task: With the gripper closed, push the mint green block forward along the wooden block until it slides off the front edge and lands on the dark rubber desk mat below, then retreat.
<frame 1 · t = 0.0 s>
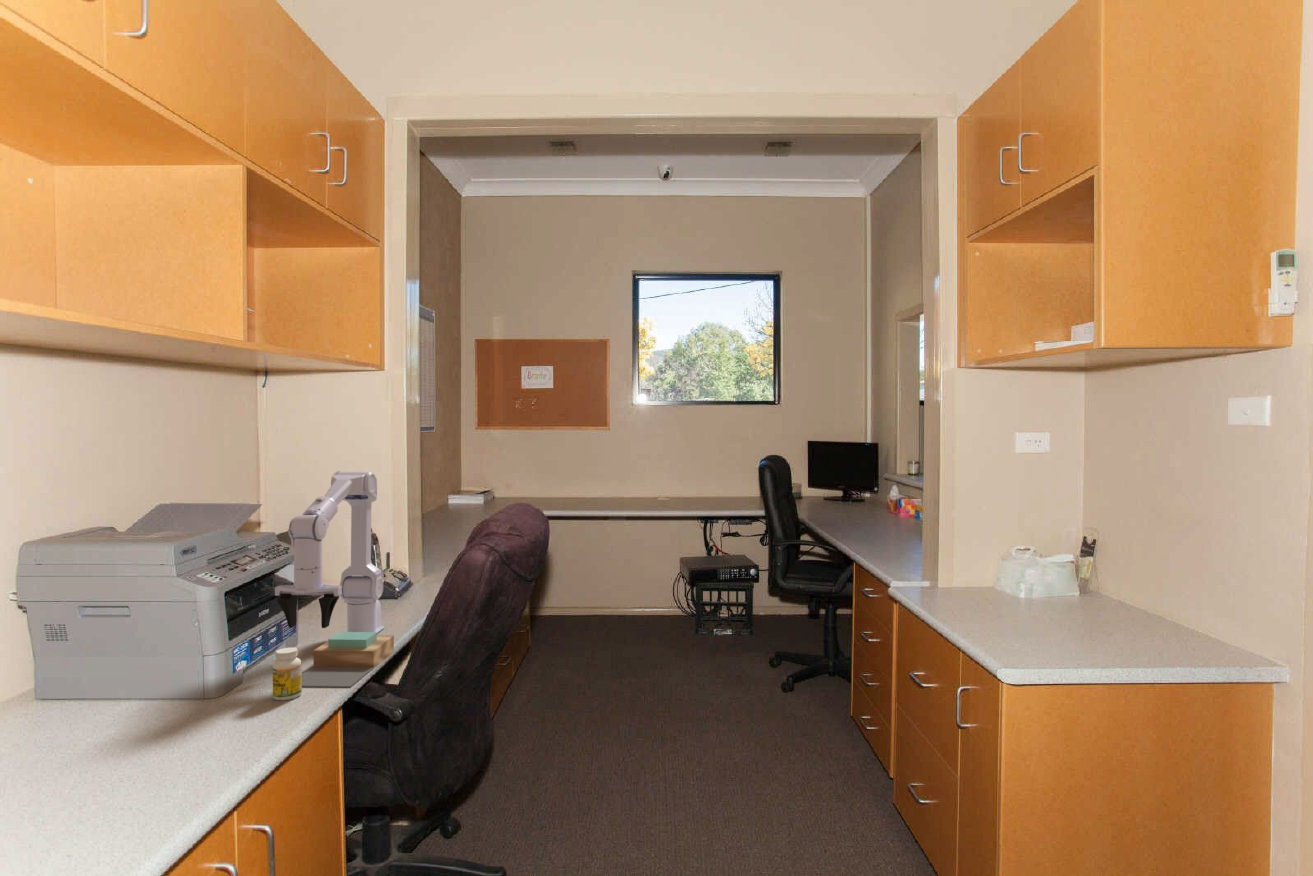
hand: (308, 626, 166), 10 cm above the table, fingers open, 7 cm apart
mat: (331, 677, 162), on the table
supplement bottle: (287, 697, 151), on the table
wooden block: (355, 659, 174), on the table
mint green block: (353, 644, 172), point 4 cm above the table, touching wooden block
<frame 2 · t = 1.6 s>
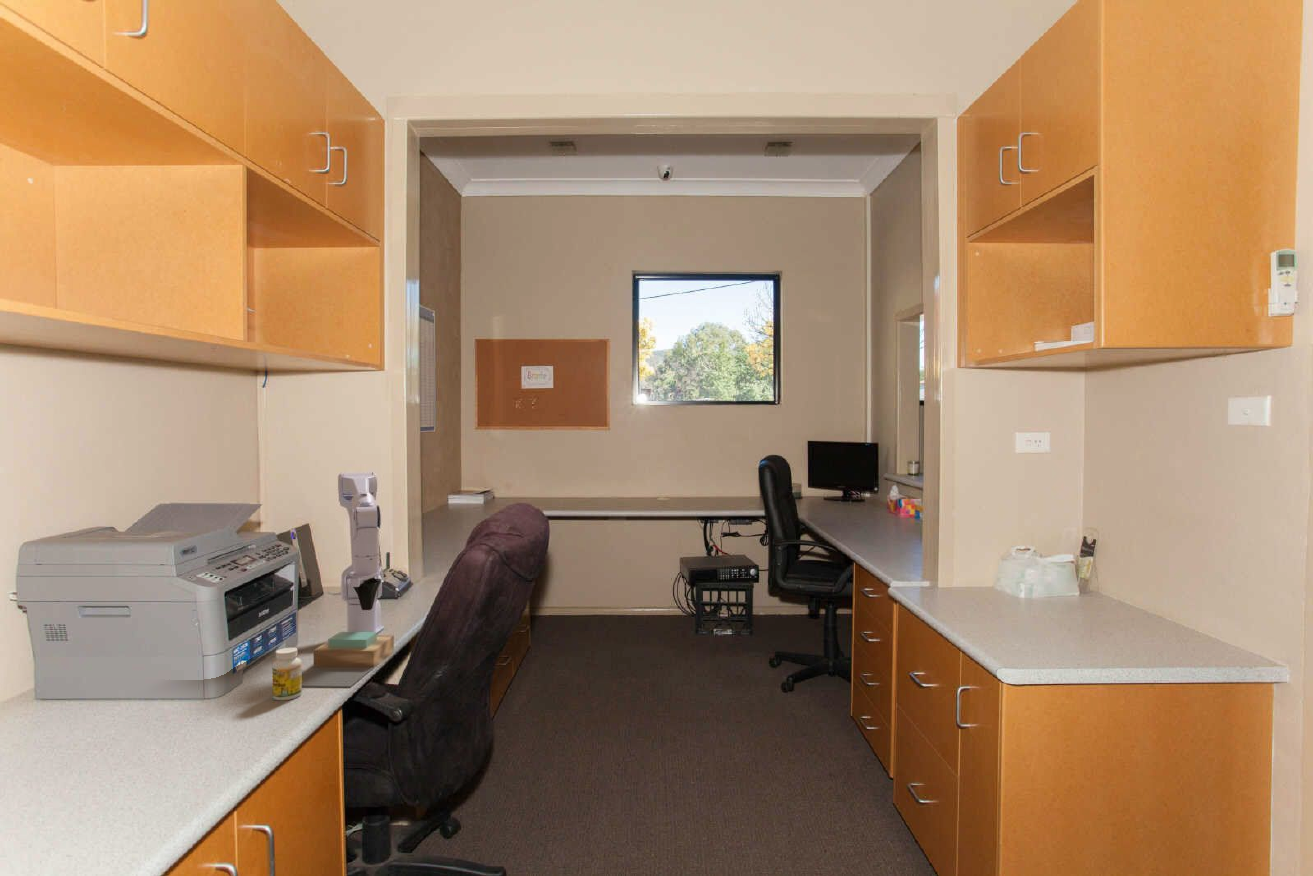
hand: (367, 609, 180), 10 cm above the table, fingers closed
nothing on the table moved.
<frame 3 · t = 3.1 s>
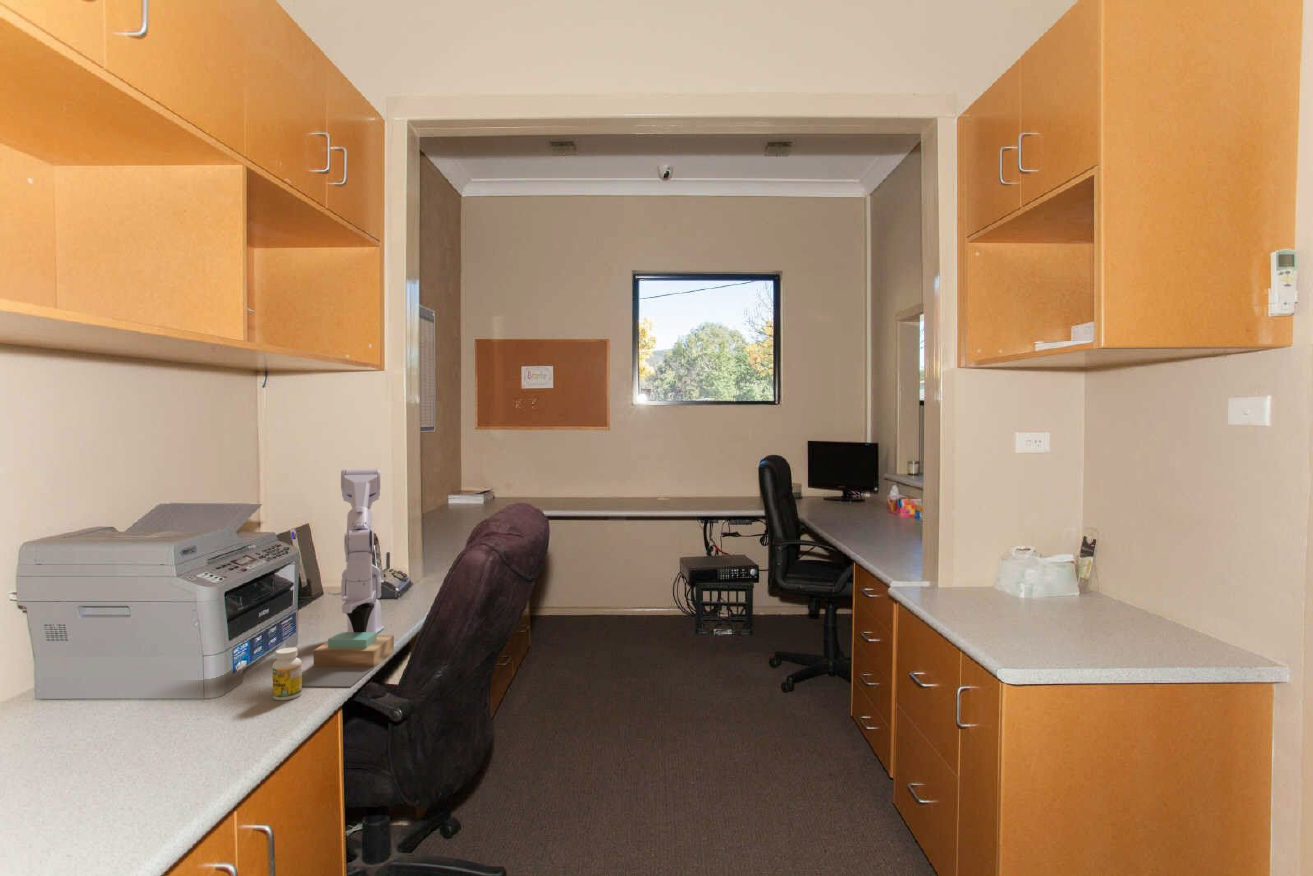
hand: (359, 635, 176), 5 cm above the table, fingers closed
mint green block: (352, 644, 172), point 4 cm above the table, touching wooden block, gripper
everything else where it was.
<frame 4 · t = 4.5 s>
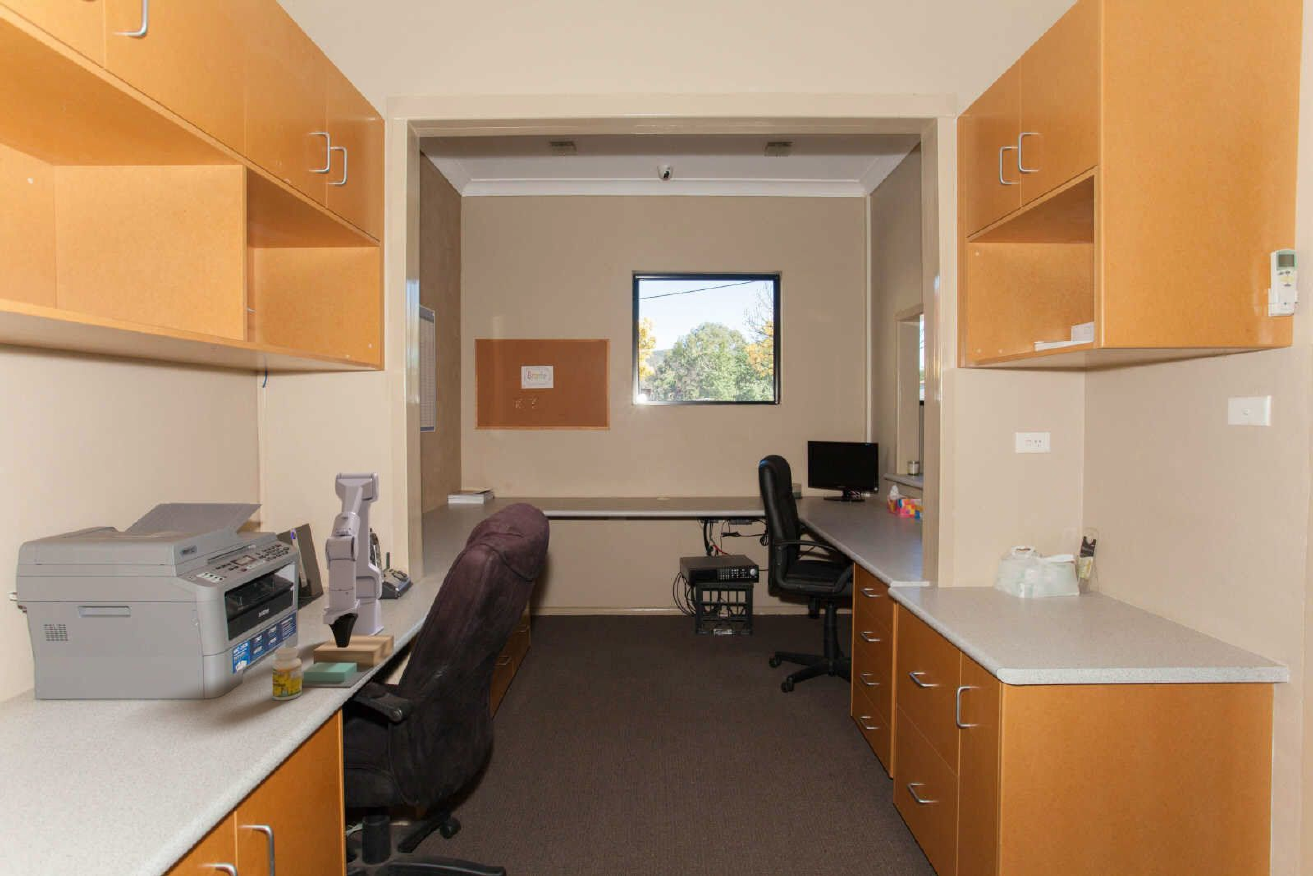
hand: (342, 646, 167), 5 cm above the table, fingers closed
mint green block: (330, 667, 161), point 2 cm above the table, tilted 180°, touching mat
everything else where it was.
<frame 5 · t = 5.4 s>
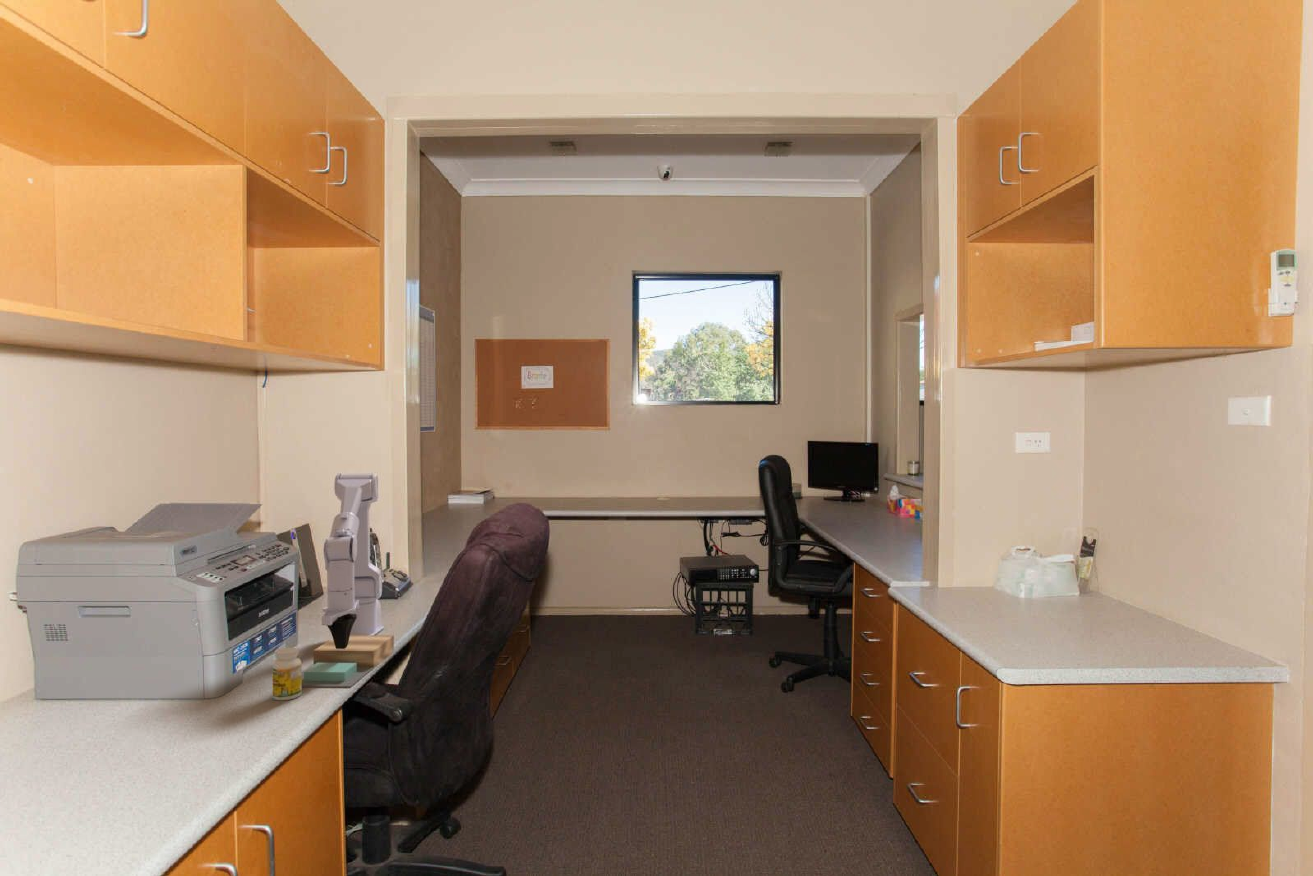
hand: (341, 647, 166), 5 cm above the table, fingers closed
nothing on the table moved.
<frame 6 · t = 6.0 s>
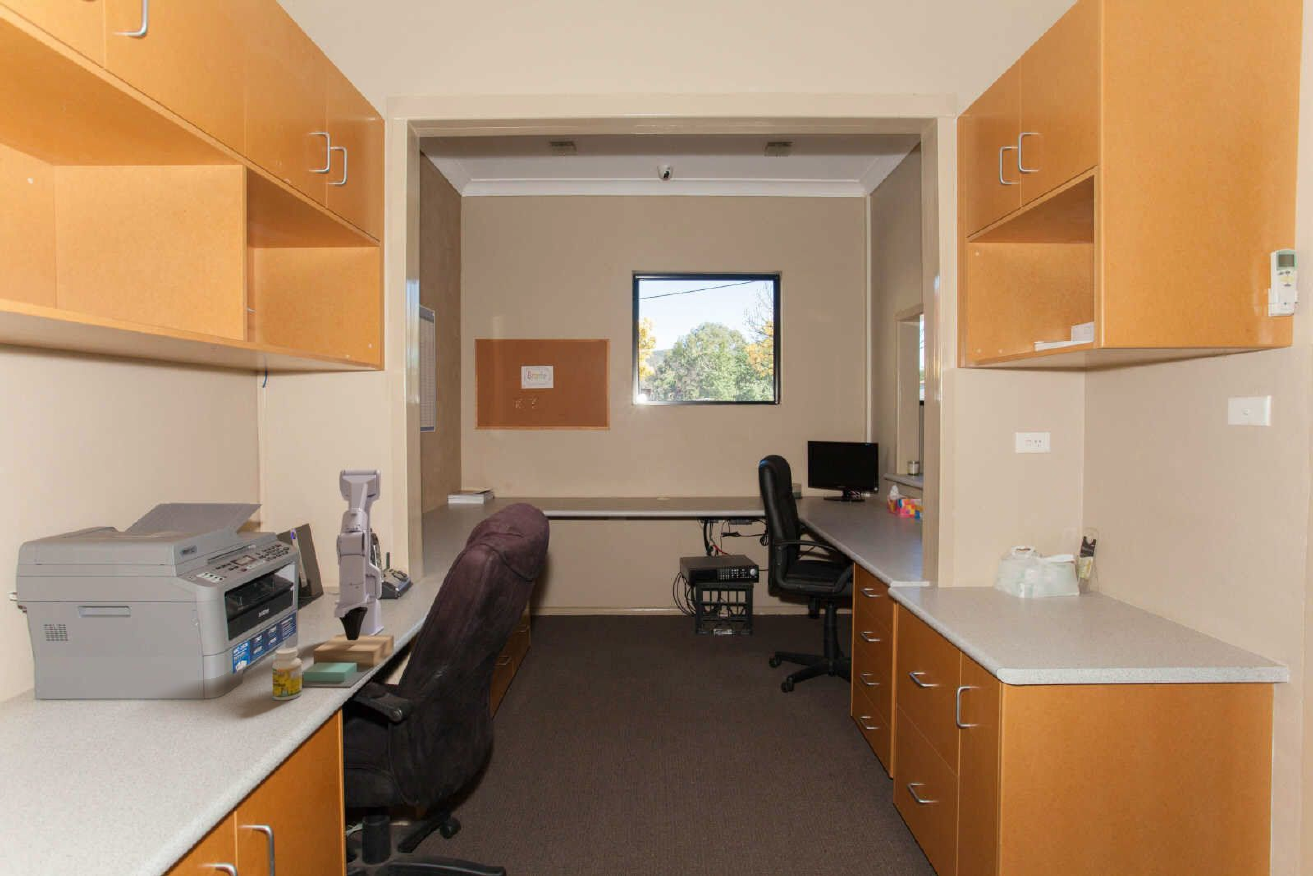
hand: (352, 639, 173), 5 cm above the table, fingers closed
nothing on the table moved.
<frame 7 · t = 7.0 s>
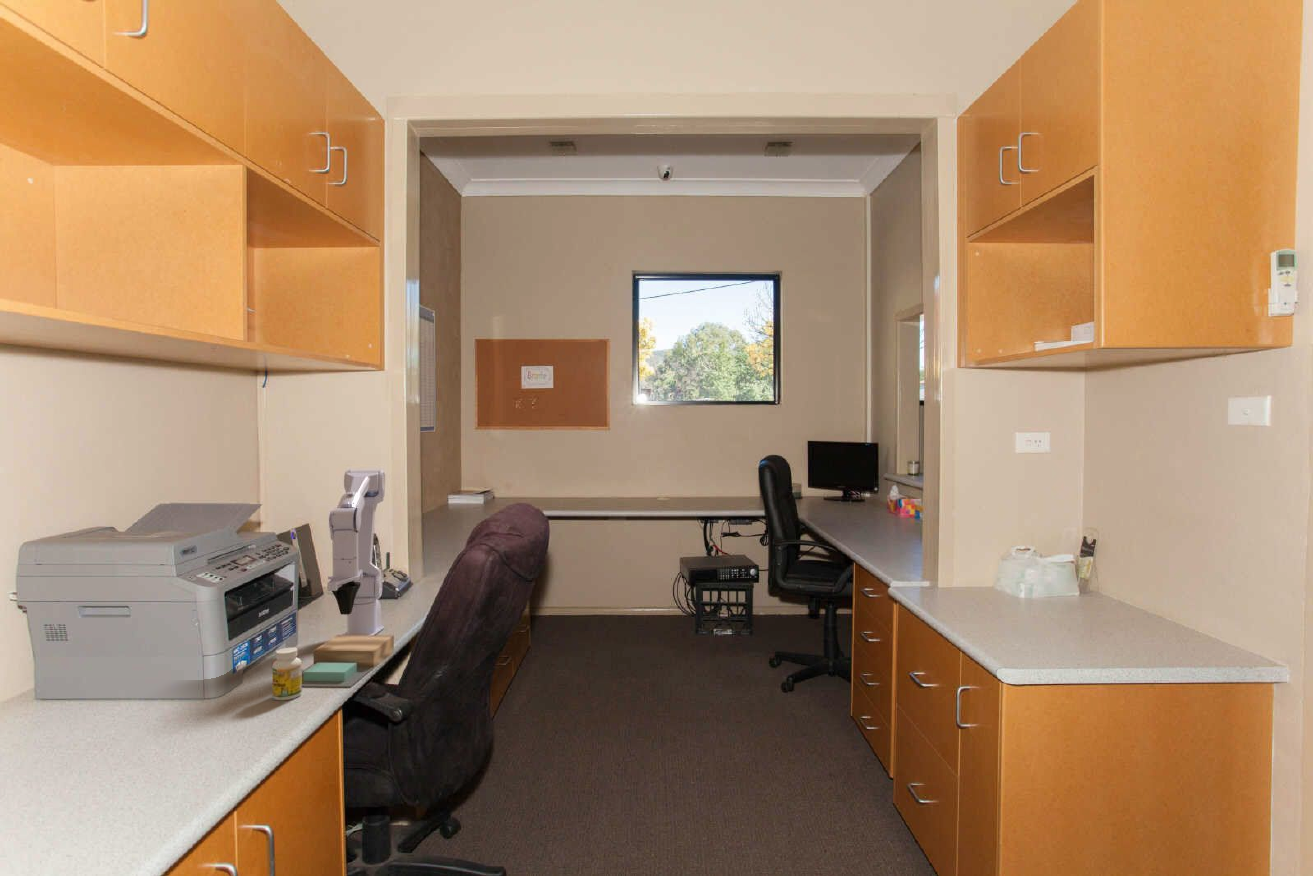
hand: (346, 613, 175), 10 cm above the table, fingers closed
nothing on the table moved.
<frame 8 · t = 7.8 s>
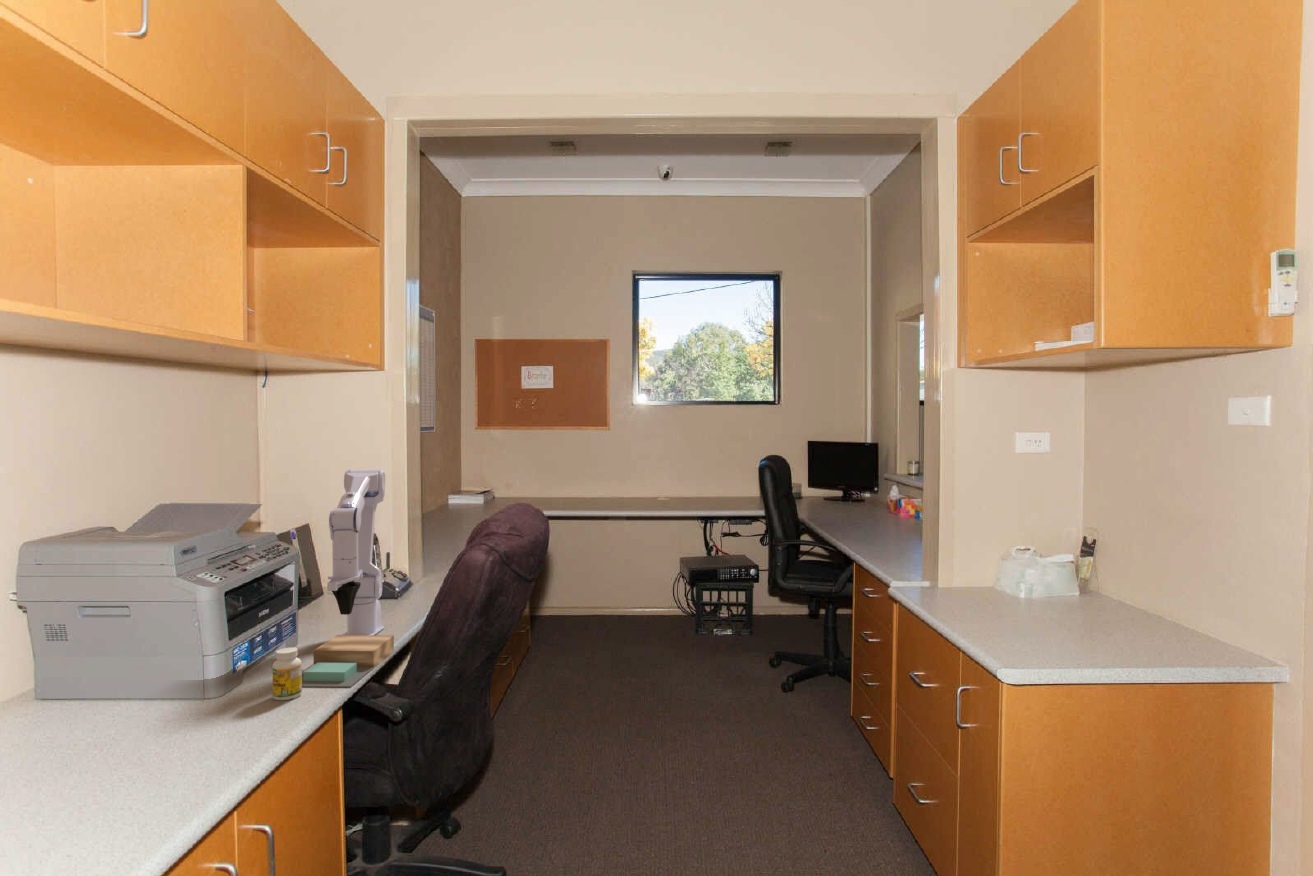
hand: (346, 613, 175), 10 cm above the table, fingers closed
nothing on the table moved.
at the end: mint green block point 2.3 cm above the table; mint green block inside the target area on the mat (0.2 cm from its centre), point 2.3 cm above the mat's base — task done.
